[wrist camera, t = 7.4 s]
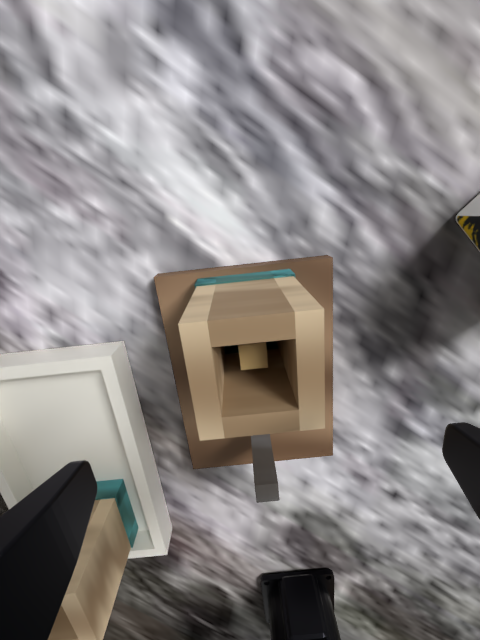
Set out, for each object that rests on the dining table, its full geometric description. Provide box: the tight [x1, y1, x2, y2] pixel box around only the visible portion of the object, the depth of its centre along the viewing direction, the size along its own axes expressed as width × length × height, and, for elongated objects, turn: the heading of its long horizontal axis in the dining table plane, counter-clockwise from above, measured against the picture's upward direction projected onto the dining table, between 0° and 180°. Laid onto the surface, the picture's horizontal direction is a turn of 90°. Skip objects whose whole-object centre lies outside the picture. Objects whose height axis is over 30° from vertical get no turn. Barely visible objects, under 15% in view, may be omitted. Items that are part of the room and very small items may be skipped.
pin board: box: [154, 255, 333, 503], centre depth 17 cm, size 14×10×6 cm
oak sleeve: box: [178, 269, 325, 441], centre depth 14 cm, size 5×5×7 cm
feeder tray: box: [0, 341, 172, 559], centre depth 21 cm, size 17×10×2 cm, turn 6°
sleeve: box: [48, 479, 139, 640], centre depth 20 cm, size 5×5×7 cm
